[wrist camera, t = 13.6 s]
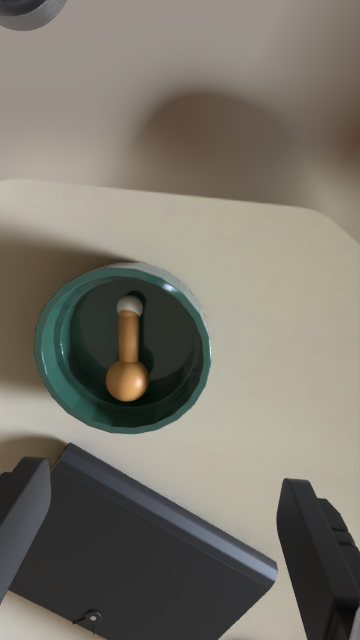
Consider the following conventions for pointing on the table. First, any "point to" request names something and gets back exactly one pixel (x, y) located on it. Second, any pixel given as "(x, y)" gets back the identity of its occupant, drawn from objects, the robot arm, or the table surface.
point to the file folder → (135, 560)
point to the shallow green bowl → (103, 347)
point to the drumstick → (128, 354)
